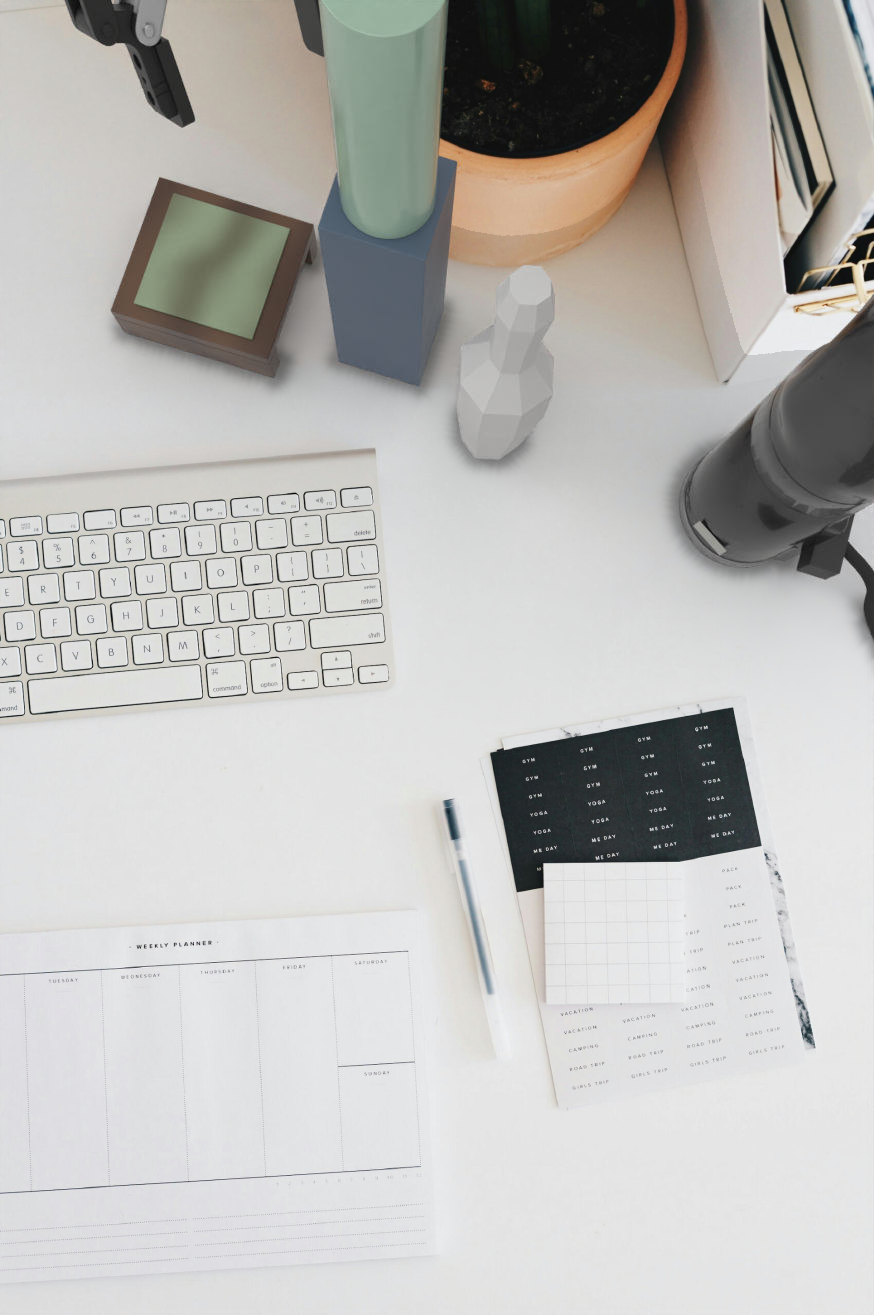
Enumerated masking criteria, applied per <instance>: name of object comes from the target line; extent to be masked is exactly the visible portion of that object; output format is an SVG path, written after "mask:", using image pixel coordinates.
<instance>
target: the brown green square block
mask: <svg viewBox="0 0 874 1315" xmlns="http://www.w3.org/2000/svg"><path fill="white" fill-rule="evenodd" d="M141 223H142V224H141V226H140V229H139V232H138V233H137V234H138V235H137V237H136V240H135V242H134V246H133V248H132V250H131V254H130V256H129V258H128V262H127V264H126V267H125V269H124V273H123V275H122V278H121V281H120V284H119V286H118V289H117V292H116V295H115V297H114V300H113V303H112V304H111V305H112V306H111V308H110V312H111V314H112V315H113V317H114V319H115V321H116V322H117V323H118V325H119V326H120V328H121V330H122V331H123V332H124V333H125V334H129V335H132V336H135V337H138V338H142V339H146V340H149V341H152V342H155V343H158V344H162V345H165V346H168V347H172V348H175V349H177V350H181V351H184V352H188V353H191V354H195V355H198V356H201V357H204V358H207V359H210V360H214V361H217V362H219V363H222V364H227V365H230V366H234V367H237V368H239V369H243V370H246V371H249V372H253V373H256V374H258V375H259V374H260V375H263V376H266V377H270V378H273V379H275V377H276V374H277V371H278V368H279V365H280V358H279V355H278V352H277V346H278V342H279V339H280V335H281V333H282V330H283V327H284V324H285V321H286V319H287V315H288V312H289V310H290V306H291V303H292V300H293V298H294V294H295V292H296V288H297V286H298V284H299V279H300V277H301V275H302V271H303V268H304V266H305V264H308V265H311V266H312V265H313V264H314V262H315V259H316V256H317V252H318V250H319V249H318V248H319V247H318V242H317V237H316V230H315V225H314V223H310V222H307V221H304V220H301V219H297V218H295V217H291V216H288V215H285V214H281V213H279V212H275V211H272V210H269V209H265V208H262V207H259V206H255V205H253V204H249V203H246V202H242V201H239V200H236V199H233V198H229V197H227V196H223V195H220V194H216V193H213V192H210V191H206V190H203V189H200V188H197V187H194V186H191V185H188V184H184V183H181V182H177V181H174V180H171V179H168V178H164V177H161V176H159V177H158V180H157V182H156V185H155V187H154V191H153V193H152V196H151V199H150V201H149V204H148V207H147V209H146V213H145V215H144V219H143V221H142V222H141Z"/></svg>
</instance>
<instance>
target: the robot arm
mask: <svg viewBox="0 0 874 1315" xmlns="http://www.w3.org/2000/svg"><path fill="white" fill-rule="evenodd" d="M64 3H65V6H66V9H67V11H68V14H69V17H70V20H71V23H72V24H73V26H74V28H75V29H77V30H78V31H79V32H80V33H83V34H84V35H86V36H88V37H89V38H91V39H92V40H94V41H95V42H98V43H99V44H101V45H103V46H104V47H112V46H115V45H116V44H124V45H125V47H126V50H127V52H128V55H129V57H130V60H131V62H132V65H133V68H134V70H135V73H136V75H137V79H138V80H139V83H140V86H141V88H142V90H143V94H144V97H145V99H146V102H147V103H148V105H149V106H150V107H151V108H152V110H154V111H155V112H156V113H157V114H159V115H160V116H162V117H164V118H165V119H167V120H169V121H170V122H171V123H173V124H175V125H177V126H178V127H180V128H182V129H184V128H185V127H187V126H189V125H191V124H193V123H195V122H196V116H195V112H194V110H193V107H192V104H191V100H190V98H189V96H188V92H187V88H186V87H185V84H184V81H183V78H182V75H181V71H180V69H179V66H178V63H177V60H176V58H175V55H174V51H173V49H172V46H171V43H170V40H169V39H168V38H166V37H163V36H162V31H163V27H164V21H165V17H166V10H167V5H168V0H113V1H112V0H64ZM293 3H294V8H295V13H296V17H297V21H298V25H299V28H300V33H301V37H302V41H303V44H304V45H305V48H306V49H307V50H308V51H310V52H311V53H314V54H316V55H318V56H320V57H322V58H324V49H323V40H322V30H321V21H320V12H319V3H318V0H293ZM873 504H874V293H873V294H872V295H871V297H870V298H869V299H868V300H867V301H866V303H864V305H863V306H862V308H861V309H860V310H859V311H858V312H857V313H856V315H855V316H853V317H852V319H851V320H850V321H849V322H848V323H847V324H846V325H845V326H844V327H843V328H842V329H841V330H840V331H839V332H838V334H836V335H835V336H834V337H833V339H831V340H830V341H829V342H827V343H824V344H822V345H821V346H819V347H818V348H816V349H815V350H813V351H812V352H810V353H809V354H808V355H807V356H806V357H804V358H803V359H802V360H801V361H800V362H799V363H798V364H797V365H796V366H795V367H794V368H793V369H792V370H791V371H790V372H789V373H788V374H787V375H786V376H785V377H784V378H783V379H782V380H781V381H780V382H779V383H777V385H776V386H775V387H774V388H772V390H771V391H770V392H769V393H768V394H767V395H766V396H765V397H764V398H763V399H762V400H761V401H760V402H759V403H758V404H757V405H756V406H755V407H754V408H753V409H752V410H751V411H750V412H749V413H748V414H747V415H746V416H745V417H744V418H743V419H742V420H741V421H740V422H738V424H737V425H736V426H735V427H734V428H733V429H732V430H731V431H730V432H729V433H728V434H727V435H726V436H725V437H724V438H723V439H721V441H719V443H718V444H716V446H714V447H713V449H711V451H710V452H708V453H706V454H705V455H704V456H703V457H701V459H699V460H698V462H696V463H695V465H693V467H692V468H691V469H690V471H689V472H688V474H687V475H686V477H685V479H684V481H683V483H682V486H681V490H680V493H679V506H678V507H679V515H680V520H681V524H682V526H683V529H684V531H685V533H686V535H687V537H688V539H689V540H690V541H691V542H692V543H693V545H694V546H695V547H696V549H698V550H699V551H700V553H702V554H703V555H705V556H706V557H707V558H708V559H709V558H710V559H711V560H712V561H715V562H717V563H719V564H722V565H724V566H728V567H734V568H752V567H757V566H761V565H763V564H766V563H768V562H770V561H773V560H776V561H781V562H788V561H789V560H792V559H793V558H795V557H797V556H799V558H798V561H797V565H796V569H795V571H796V572H799V573H802V574H805V575H809V576H812V577H815V578H818V579H822V580H825V581H826V580H828V579H830V578H832V577H835V576H838V575H840V574H841V571H842V566H843V564H844V559H845V561H847V562H848V563H849V564H850V565H851V566H852V568H853V569H854V570H855V571H856V572H857V574H859V577H860V578H861V579H862V581H863V583H864V586H865V591H866V592H865V595H864V600H863V605H862V606H863V607H862V608H863V615H864V617H865V620H866V623H867V626H868V629H869V632H870V635H871V638H872V640H873V641H874V569H873V567H872V566H871V565H870V563H869V562H868V561H867V560H866V558H864V556H862V555H861V553H859V551H858V550H857V549H856V548H855V547H854V546H853V545H852V544H851V542H850V540H849V539H850V535H851V531H852V527H853V524H854V519H855V516H856V514H857V513H859V512H861V511H862V510H864V509H866V508H867V507H870V506H871V505H873Z"/></svg>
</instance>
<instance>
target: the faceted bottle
mask: <svg viewBox="0 0 874 1315" xmlns="http://www.w3.org/2000/svg"><path fill="white" fill-rule="evenodd" d="M555 304H556V294H555V290H554V286H553V281H552V278H551V277H550V276H549V275H548V273H547V272H546V271H545V269H544V268H543V267H542V266H541V265H527V264H523V265H522V266H521V267H519V268H518V269H516V270H515V271H512V273H511V274H509V275H508V276H507V277H506V278H505V279H504V280H503V281H502V282H501V283H500V284H499V285H498V286H497V287H496V288H495V317H494V318H495V319H494V321H493V324H492V325H490V326H488V327H487V328H486V329H484V330H482V331H481V332H480V333H479V334H478V333H477V335H475V336H474V337H472V338H471V339H470V340H468V341H466V342H465V343H463V344H462V345H461V347H460V354H459V361H458V368H457V378H456V379H457V381H456V404H455V407H456V413H457V414H456V416H457V421H458V427H459V434H460V440H461V442H462V443H463V444H464V445H465V447H466V448H467V450H468V451H469V453H471V455H472V456H473V458H474V459H476V460H493V461H495V460H496V461H500V460H502V459H503V458H504V457H505V456H507V455H508V454H510V453H511V452H513V451H514V450H516V449H517V448H518V447H519V446H520V445H522V443H523V442H524V441H525V439H526V438H527V437H528V436H529V435H530V434H531V433H532V431H533V430H534V429H535V428H536V427H537V425H538V424H539V423H540V422H541V421H542V419H543V418H544V417H545V414H546V411H547V410H548V407H549V404H550V402H551V400H552V397H553V395H554V364H555V363H554V362H555V361H554V360H555V359H554V358H555V357H554V355H553V354H552V353H551V352H550V350H549V349H548V348H547V346H546V345H545V343H544V342H543V339H544V338H545V336H546V334H547V333H548V331H549V329H550V328H551V326H552V324H553V322H554V321H555V312H556V311H555V310H556V309H555V308H556V307H555V306H556V305H555Z"/></svg>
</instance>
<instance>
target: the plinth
mask: <svg viewBox="0 0 874 1315" xmlns="http://www.w3.org/2000/svg"><path fill="white" fill-rule="evenodd" d="M457 170H458V161H457V160H456V159H455V160H454V159H452V158H448V157H445V156H443V155H439V161H438V177H437V193H436V203H435V207H434V209H433V212H432V214H431V216H430V218H429V219H428V220H427V222H426V223H425V224H424V225H423V226H422V227H421V228H420V229H418V230H417V231H415V232H414V233H412V234H410V235H408V236H405V237H401V238H397V239H381V238H376V237H373V236H370V235H367V234H366V233H364V232H362V231H360V230H359V229H358V228H356V227H355V226H354V225H353V224H352V223H351V222H350V221H349V219H348V218H347V216H346V215H345V213H344V211H343V209H342V206H341V202H340V196H339V187H338V178H337V171H336V172H335V176H334V178H333V180H332V183H331V187H330V190H329V193H328V196H327V198H326V202H325V205H324V207H323V210H322V213H321V216H320V219H319V222H318V224H317V232H318V238H319V244H320V245H319V246H320V251H321V258H322V264H323V272H324V275H325V277H324V278H325V284H326V290H327V291H326V292H327V297H328V302H329V310H330V316H331V321H332V330H333V334H334V340H335V348H336V354H337V355H336V356H337V361H338V362H339V363H342V364H345V365H348V366H352V367H355V368H358V369H361V370H365V371H368V372H371V373H374V374H378V375H380V376H384V377H387V378H390V379H394V380H398V381H400V382H404V383H407V384H410V385H414V386H416V387H419V386H420V385H421V383H422V382H421V381H422V378H423V376H424V372H425V369H426V366H427V363H428V360H429V357H430V355H431V354H430V353H431V351H432V348H433V345H434V344H433V343H434V341H435V337H436V335H437V331H438V328H439V325H440V323H441V319H442V317H443V313H444V306H445V297H446V286H447V276H448V275H447V274H448V265H449V256H450V255H449V254H450V244H451V235H452V234H451V233H452V232H451V231H452V222H453V212H454V203H455V202H454V201H455V191H456V190H455V189H456V180H457Z"/></svg>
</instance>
